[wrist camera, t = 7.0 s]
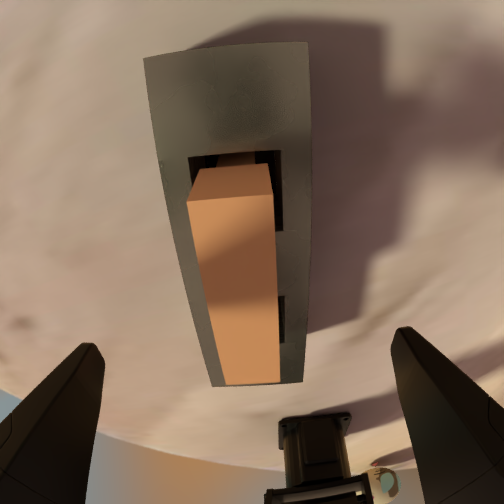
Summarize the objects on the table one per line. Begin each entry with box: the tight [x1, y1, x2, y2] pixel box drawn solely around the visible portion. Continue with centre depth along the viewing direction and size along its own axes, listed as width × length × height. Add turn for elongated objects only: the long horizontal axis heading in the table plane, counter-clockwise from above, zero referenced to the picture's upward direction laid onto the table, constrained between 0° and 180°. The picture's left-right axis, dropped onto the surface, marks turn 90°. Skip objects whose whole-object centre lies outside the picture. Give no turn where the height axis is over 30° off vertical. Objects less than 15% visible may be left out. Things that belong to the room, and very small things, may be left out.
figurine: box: [356, 462, 401, 504], centre depth 33 cm, size 8×6×7 cm
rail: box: [143, 42, 312, 387], centre depth 14 cm, size 16×5×3 cm, turn 4°
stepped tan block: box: [187, 151, 280, 385], centre depth 13 cm, size 8×2×6 cm, turn 5°
